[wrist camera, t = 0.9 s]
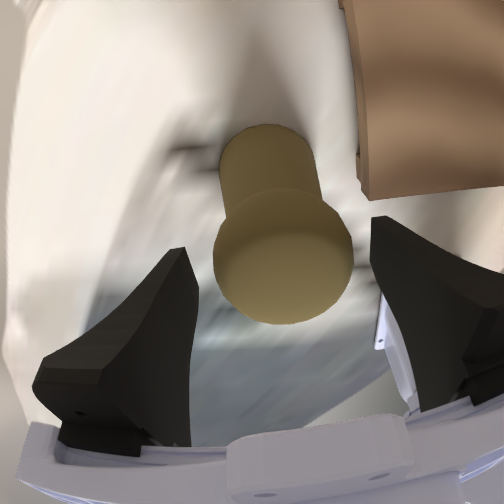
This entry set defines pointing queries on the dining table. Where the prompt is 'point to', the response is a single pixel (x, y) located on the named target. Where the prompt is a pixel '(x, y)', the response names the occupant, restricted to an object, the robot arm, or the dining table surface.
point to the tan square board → (428, 94)
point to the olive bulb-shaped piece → (278, 230)
